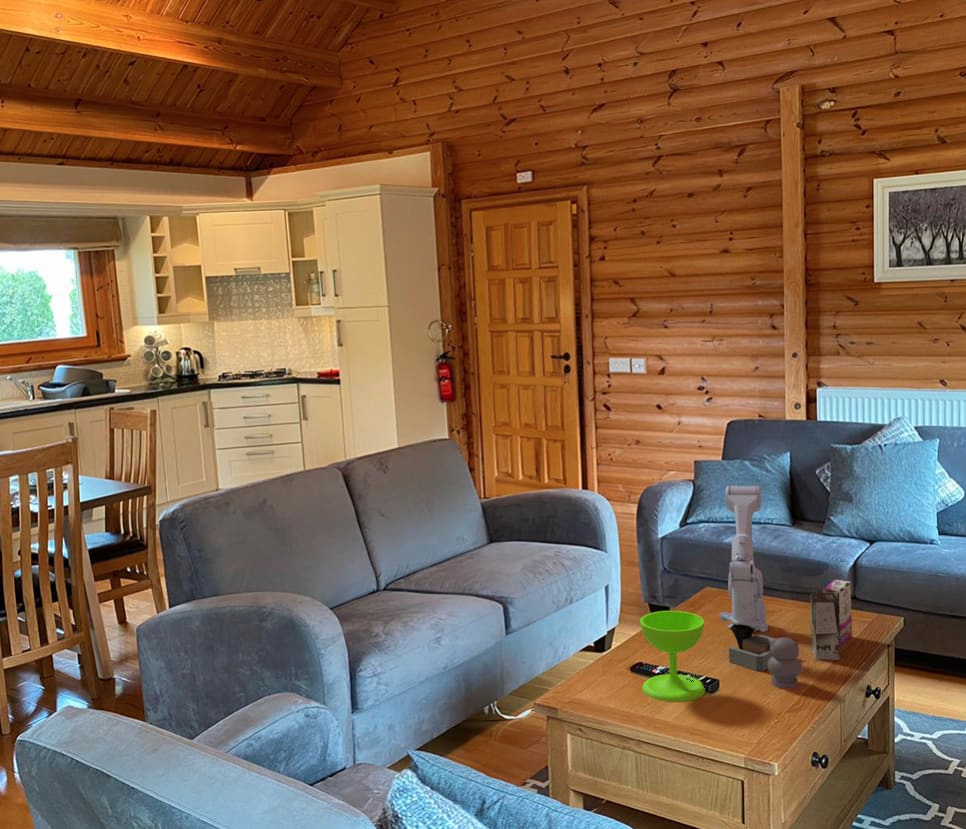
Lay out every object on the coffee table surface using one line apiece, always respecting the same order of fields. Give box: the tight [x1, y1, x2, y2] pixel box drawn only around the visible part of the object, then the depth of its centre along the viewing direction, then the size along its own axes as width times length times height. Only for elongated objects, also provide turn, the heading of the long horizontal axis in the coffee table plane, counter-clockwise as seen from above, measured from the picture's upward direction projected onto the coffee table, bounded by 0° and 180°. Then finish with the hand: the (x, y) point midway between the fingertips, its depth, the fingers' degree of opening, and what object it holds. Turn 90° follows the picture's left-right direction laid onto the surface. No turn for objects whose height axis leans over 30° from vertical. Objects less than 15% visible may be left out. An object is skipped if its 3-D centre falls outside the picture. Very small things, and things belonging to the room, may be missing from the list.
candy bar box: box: [821, 579, 853, 649], centre depth 274 cm, size 11×5×16 cm, turn 143°
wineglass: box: [639, 610, 706, 703], centre depth 247 cm, size 16×16×18 cm
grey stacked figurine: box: [767, 637, 803, 690], centre depth 247 cm, size 8×8×12 cm
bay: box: [728, 634, 776, 672], centre depth 264 cm, size 14×10×4 cm
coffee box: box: [810, 592, 840, 661], centre depth 265 cm, size 9×6×16 cm
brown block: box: [743, 634, 771, 655], centre depth 264 cm, size 6×7×5 cm
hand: (743, 650), depth 268 cm, fingers closed
